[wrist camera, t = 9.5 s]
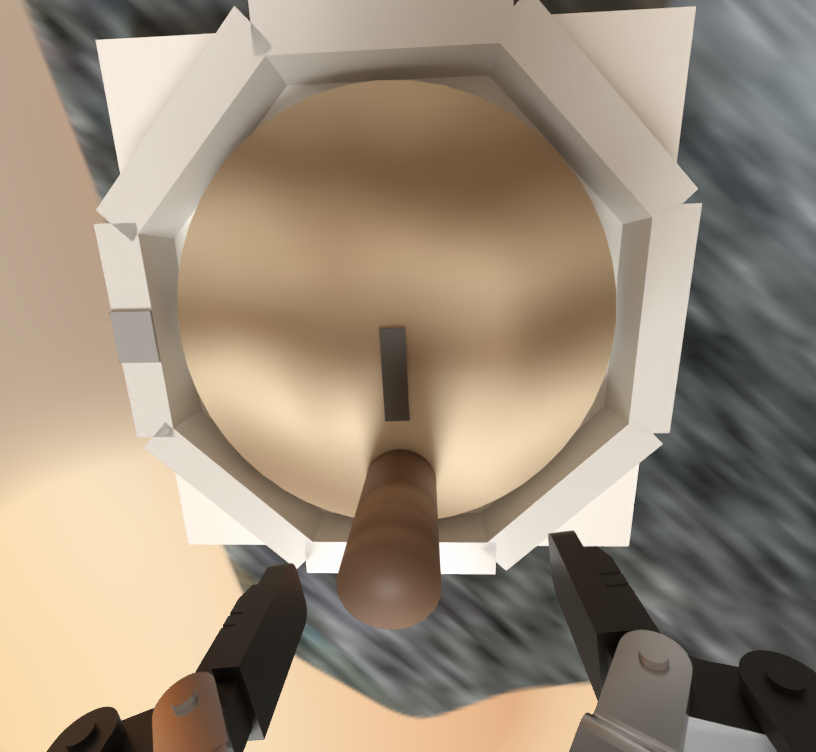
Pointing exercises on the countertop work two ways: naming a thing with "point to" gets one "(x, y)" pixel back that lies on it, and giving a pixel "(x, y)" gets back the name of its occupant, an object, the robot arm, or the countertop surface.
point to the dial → (396, 317)
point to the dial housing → (432, 63)
